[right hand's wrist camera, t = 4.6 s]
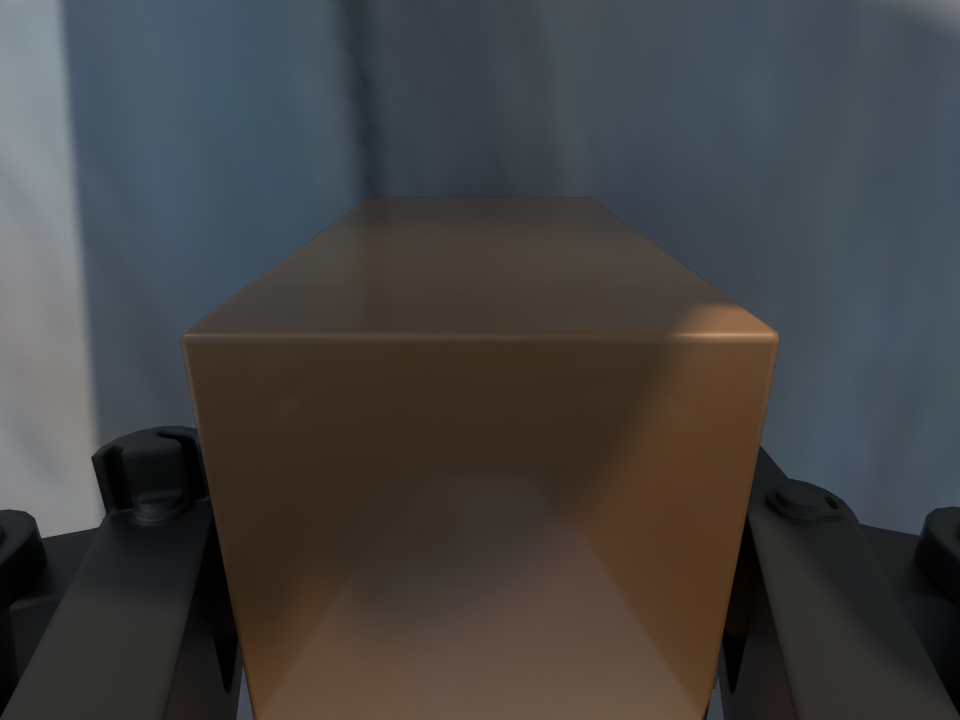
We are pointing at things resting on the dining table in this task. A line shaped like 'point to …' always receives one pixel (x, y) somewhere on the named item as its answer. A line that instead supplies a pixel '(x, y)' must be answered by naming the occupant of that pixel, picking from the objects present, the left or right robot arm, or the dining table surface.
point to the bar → (480, 465)
